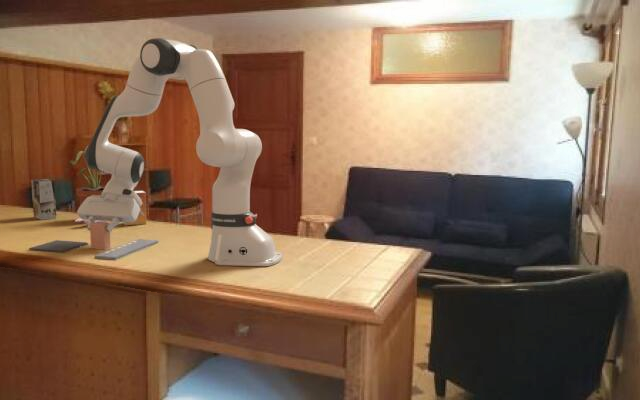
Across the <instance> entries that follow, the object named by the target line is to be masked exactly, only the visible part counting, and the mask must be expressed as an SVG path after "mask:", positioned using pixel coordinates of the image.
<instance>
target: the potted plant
mask: <svg viewBox="0 0 640 400" xmlns="http://www.w3.org/2000/svg"><path fill="white" fill-rule="evenodd" d="M85 150H86V149H83V151H82V150H80V151H78V153H77V154H76V158H75V160H71V159H70V160H69V162H70V163H71V165H72V166H75V165H76V164H77V162H78V161H79V160H80V158H81V157H84V153H85ZM86 169H88V171H89V175H90V176H89V175H88V173H87V172H86ZM91 170H92V172H91ZM96 171H97V172H96V174H95V170H94V169H90V168H89V167H87V168H82V169H81V168H80V171H79V173H81V174H82V176H83V177H84V178H85V179H86V181H87V182H88V185H89V186H82V187H78V188H76V191H75V192H76V197H77V198H79V204H80V206H81V204H82V203H83V202H84V201H85V199H86V198H87V197H90V196H92V195H101V194H102V192H103V190H104V188H105V186H101V185H100V182H101V177H102V174H103V173H105V172H104V171H99V170H96ZM84 172H85V173H84ZM79 173H77V174H76V177H77V176H78V175H79ZM92 173H93V174H92ZM85 174H86V175H87V176H86V175H85ZM99 174H100V175H99ZM88 177H89V179H88ZM98 179H99V180H98ZM90 180H91V181H90ZM91 182H92V183H91Z"/></svg>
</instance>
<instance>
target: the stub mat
mask: <svg viewBox="0 0 640 400" xmlns="http://www.w3.org/2000/svg"><path fill="white" fill-rule="evenodd" d="M87 245H89V242H85V241H84V242H83V241H72V240H59V239H58V240H57V239H56V240H53V241H48V242H46V243H43V244H39V245H35V246H33V247H29V248H28V250H29V251H36V252H49V253H60V252H62V254H63V253H66V252H69V251H72V250H75V249H78V248H81V247H84V246H87ZM80 246H81V247H80ZM74 248H75V249H74Z"/></svg>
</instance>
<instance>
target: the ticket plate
mask: <svg viewBox="0 0 640 400" xmlns="http://www.w3.org/2000/svg"><path fill="white" fill-rule="evenodd" d="M158 243H159V240H158V239H145V238H139V239H136V240H133V241H131V242H130V241H129V242H128V243H125V244H122V245H119V246H117V247H115V248H111V249H109V250H106V251H104V252H101V253H98V254H96V255H94V259H100V260H101V259H102V260H112V261H113V260H114V261H117V260H119V259H121V258H122V259H123V258H124V257H126V256H129V255H132V254H133V253H136V252H139V251H141V250H143V249H146V248H148V247H151V246H153V245H156V244H158Z"/></svg>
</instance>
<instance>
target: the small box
mask: <svg viewBox="0 0 640 400" xmlns="http://www.w3.org/2000/svg"><path fill="white" fill-rule="evenodd" d="M134 191H135V192H136V194H137V195H138V196H139V198H140V199H141V201H142V205H141V206H140V212H139V215H138V217H137V219H136V220H135V221H134V222H132V223H130V222H122V223H123V225H125V226H135V225H136V226H137V225H147V192H146V191H144V190H134Z"/></svg>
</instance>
